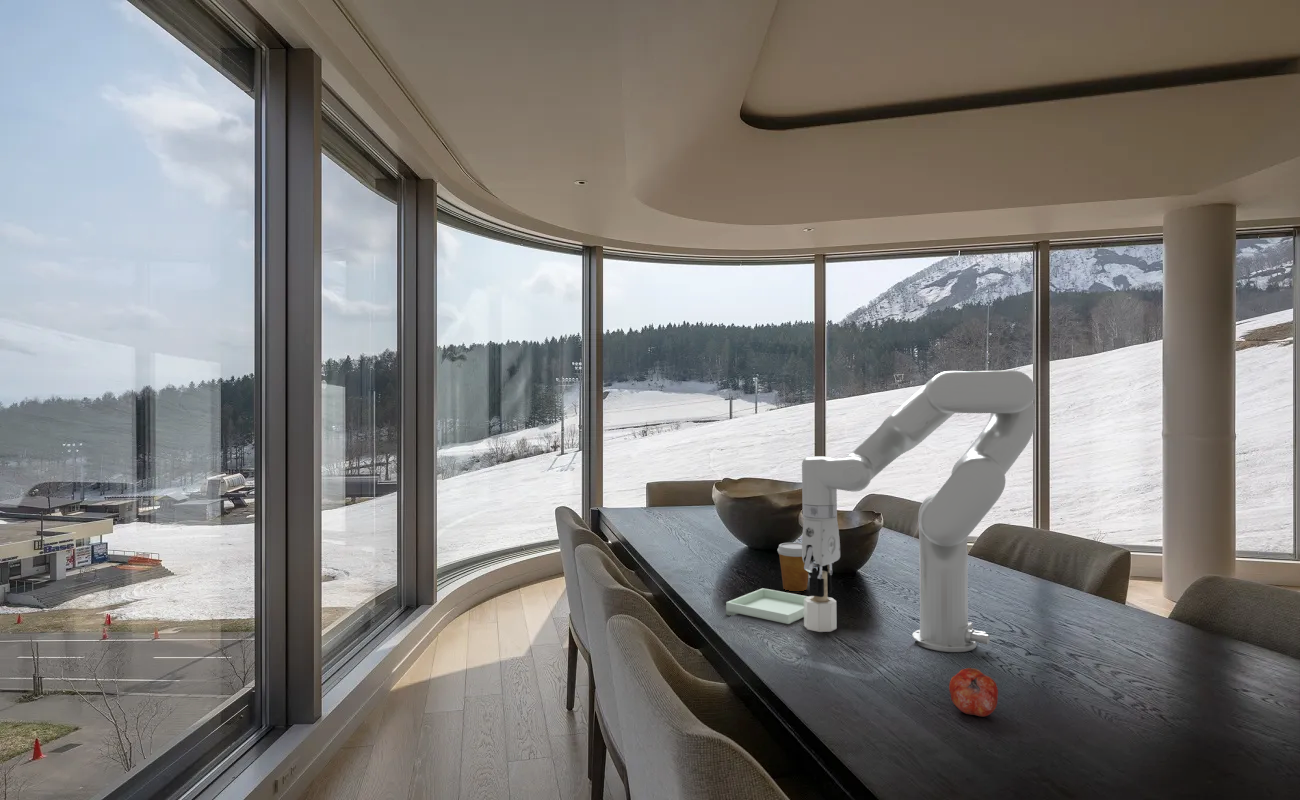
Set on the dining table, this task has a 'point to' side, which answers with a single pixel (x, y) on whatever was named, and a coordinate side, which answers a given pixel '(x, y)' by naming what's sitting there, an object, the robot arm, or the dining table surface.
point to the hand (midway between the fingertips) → (820, 593)
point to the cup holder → (820, 615)
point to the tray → (768, 605)
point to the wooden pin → (825, 597)
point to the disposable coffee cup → (792, 567)
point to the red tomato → (973, 692)
